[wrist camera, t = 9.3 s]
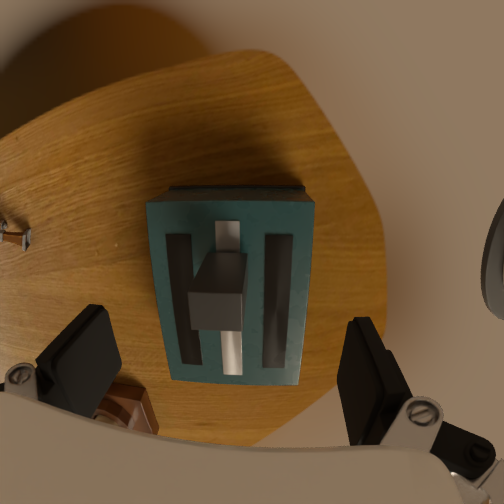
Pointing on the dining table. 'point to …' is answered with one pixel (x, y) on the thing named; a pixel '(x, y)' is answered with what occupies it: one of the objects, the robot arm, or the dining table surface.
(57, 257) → the dining table surface
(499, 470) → the robot arm
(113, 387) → the control block
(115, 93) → the dining table surface
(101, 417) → the button
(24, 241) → the wooden post with brackets
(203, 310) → the slider
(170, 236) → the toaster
